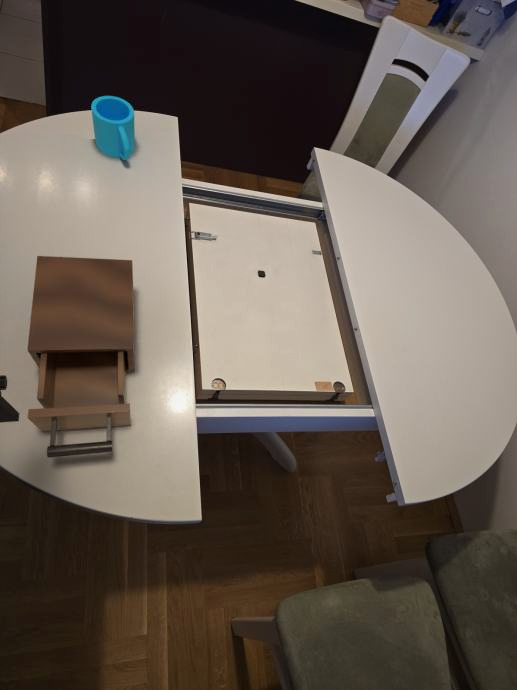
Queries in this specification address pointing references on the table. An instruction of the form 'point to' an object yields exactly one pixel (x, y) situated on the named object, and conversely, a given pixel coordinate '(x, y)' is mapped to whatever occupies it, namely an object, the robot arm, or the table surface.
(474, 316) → the table surface
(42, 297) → the cabinet
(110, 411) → the drawer
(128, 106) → the mug
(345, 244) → the table surface
